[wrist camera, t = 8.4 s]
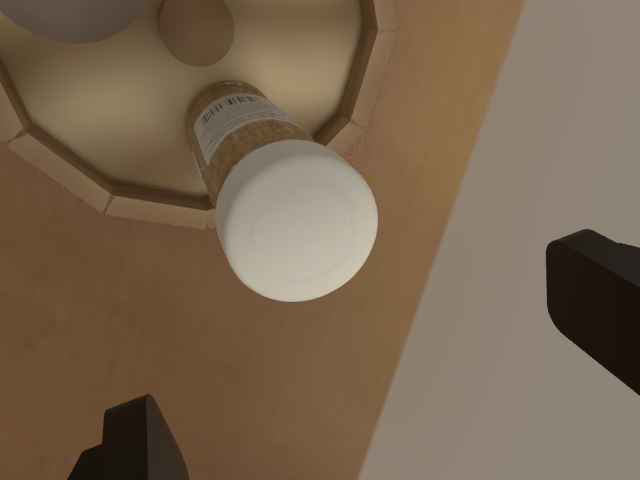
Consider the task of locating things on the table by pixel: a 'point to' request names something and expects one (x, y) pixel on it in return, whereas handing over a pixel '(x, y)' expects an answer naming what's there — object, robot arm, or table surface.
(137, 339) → the table surface
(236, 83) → the seasoning bottle
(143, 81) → the condiment caddy
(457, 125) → the table surface
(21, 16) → the white jar
